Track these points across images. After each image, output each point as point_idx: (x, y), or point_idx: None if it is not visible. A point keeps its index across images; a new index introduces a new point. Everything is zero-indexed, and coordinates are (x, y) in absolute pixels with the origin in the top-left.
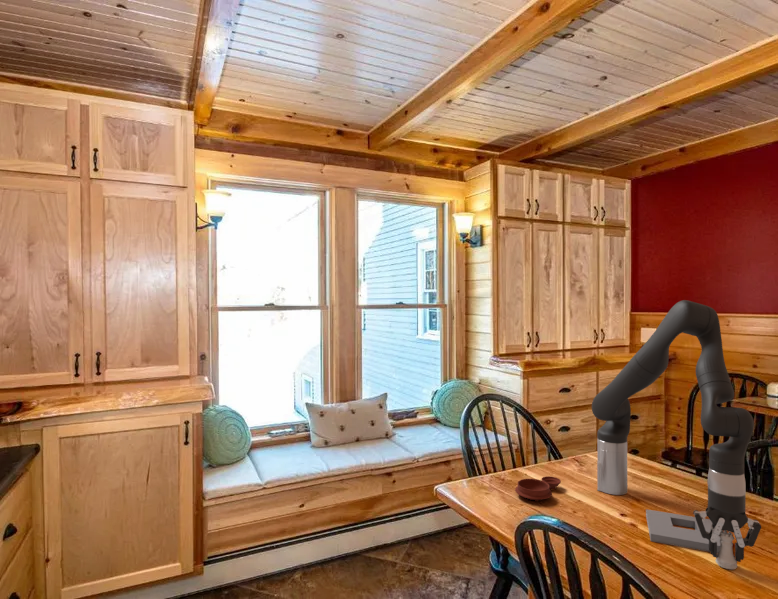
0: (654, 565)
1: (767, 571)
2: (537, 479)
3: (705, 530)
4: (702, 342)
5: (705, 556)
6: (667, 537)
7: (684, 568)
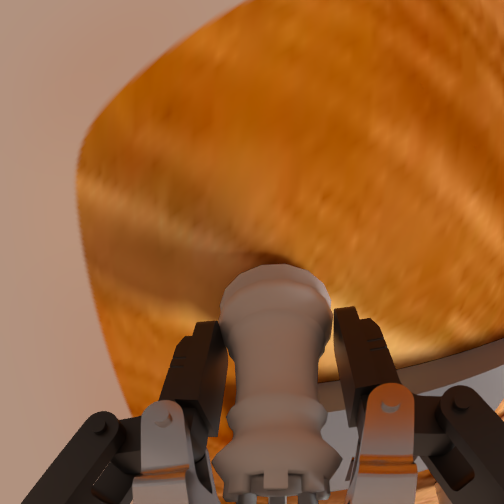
0: None
1: (113, 332)
2: None
3: (473, 450)
4: None
5: None
6: (488, 367)
7: (483, 159)
